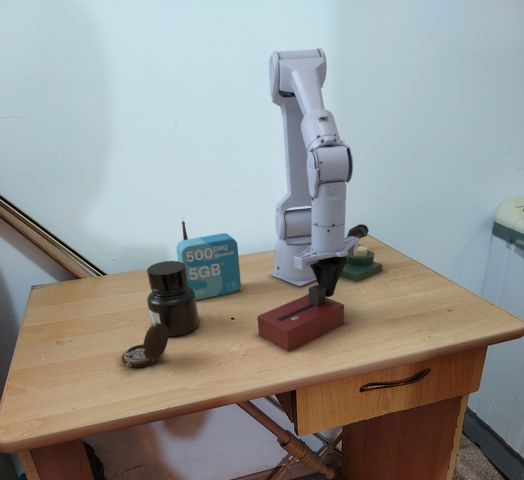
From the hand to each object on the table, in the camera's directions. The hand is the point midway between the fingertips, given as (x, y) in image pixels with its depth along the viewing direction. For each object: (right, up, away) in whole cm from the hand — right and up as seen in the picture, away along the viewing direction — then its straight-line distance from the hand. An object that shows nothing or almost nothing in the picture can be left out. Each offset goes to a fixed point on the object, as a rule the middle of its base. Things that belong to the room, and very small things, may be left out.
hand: (326, 294), depth 87 cm
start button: (+11, +12, +22) cm, 27 cm away
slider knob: (-2, -2, -1) cm, 3 cm away
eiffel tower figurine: (-30, +8, +27) cm, 41 cm away
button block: (+9, +8, +22) cm, 25 cm away
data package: (-23, +2, +16) cm, 28 cm away
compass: (-32, -13, -8) cm, 36 cm away
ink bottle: (-29, -6, +3) cm, 29 cm away
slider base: (-5, -7, -1) cm, 8 cm away
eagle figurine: (+11, +15, +33) cm, 38 cm away
